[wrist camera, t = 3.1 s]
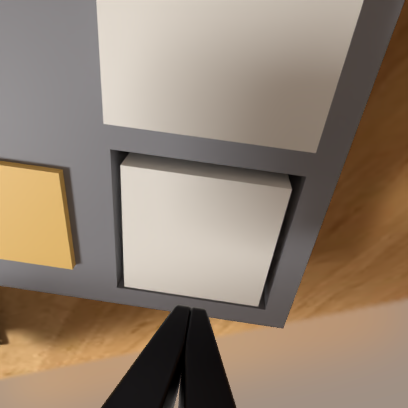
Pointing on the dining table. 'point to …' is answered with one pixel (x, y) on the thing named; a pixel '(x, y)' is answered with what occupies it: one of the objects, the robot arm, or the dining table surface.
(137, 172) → the key
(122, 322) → the dining table surface
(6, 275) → the key panel
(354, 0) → the key middle
